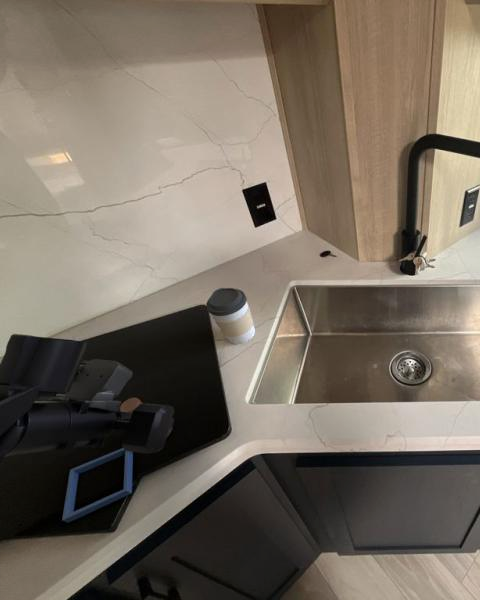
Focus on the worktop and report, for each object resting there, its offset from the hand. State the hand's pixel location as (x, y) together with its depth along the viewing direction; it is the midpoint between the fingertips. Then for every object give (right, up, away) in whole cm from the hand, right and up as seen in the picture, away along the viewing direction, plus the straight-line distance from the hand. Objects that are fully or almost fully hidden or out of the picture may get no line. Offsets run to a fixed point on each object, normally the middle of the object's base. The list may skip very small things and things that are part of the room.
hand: (146, 419), depth 54 cm
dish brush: (-8, -8, +14) cm, 18 cm away
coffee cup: (-1, +10, +34) cm, 36 cm away
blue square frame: (-13, -15, +6) cm, 20 cm away
